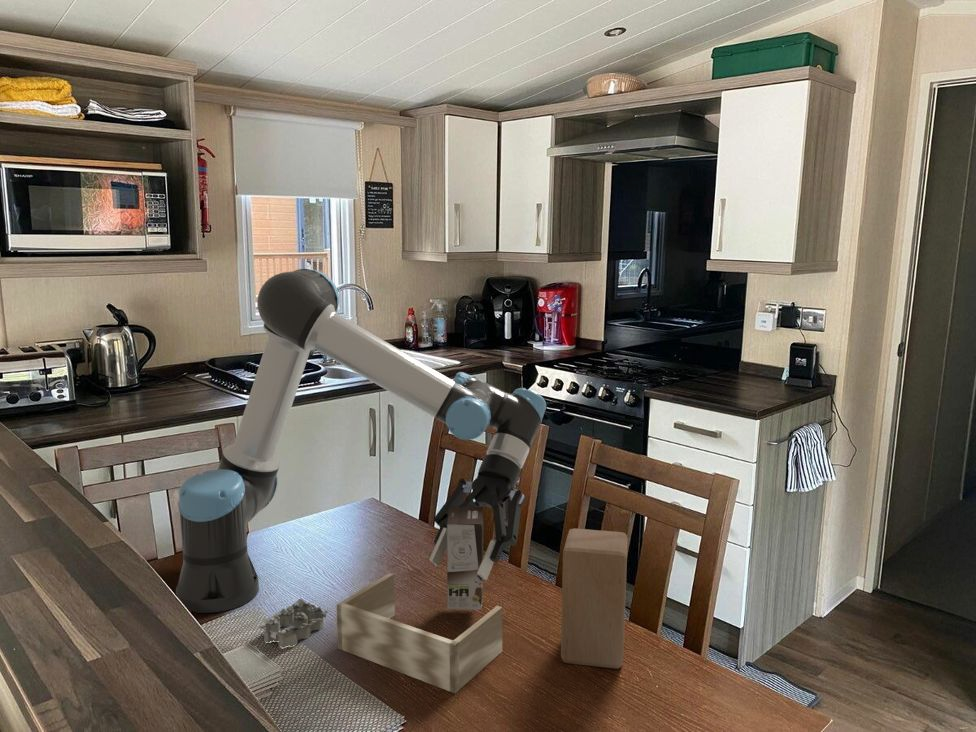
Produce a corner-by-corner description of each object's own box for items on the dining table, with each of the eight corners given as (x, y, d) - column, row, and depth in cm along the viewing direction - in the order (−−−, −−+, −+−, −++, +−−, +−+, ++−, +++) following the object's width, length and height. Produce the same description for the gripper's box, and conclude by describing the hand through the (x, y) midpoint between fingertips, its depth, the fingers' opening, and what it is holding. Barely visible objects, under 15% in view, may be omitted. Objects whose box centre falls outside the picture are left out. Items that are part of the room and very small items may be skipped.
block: (622, 671, 122) (626, 554, 118) (560, 664, 124) (562, 549, 120) (623, 639, 132) (627, 530, 128) (566, 633, 134) (568, 525, 130)
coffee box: (482, 610, 135) (482, 524, 132) (446, 610, 135) (445, 524, 132) (483, 586, 144) (484, 505, 141) (449, 586, 144) (449, 505, 141)
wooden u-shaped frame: (338, 648, 129) (336, 604, 127) (390, 613, 140) (389, 573, 139) (455, 693, 116) (454, 645, 115) (502, 651, 128) (502, 607, 126)
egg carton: (286, 654, 127) (285, 632, 127) (255, 641, 131) (254, 619, 131) (331, 626, 136) (330, 605, 135) (302, 615, 140) (301, 594, 139)
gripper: (561, 482, 143) (518, 593, 133) (463, 462, 155) (417, 563, 144) (548, 462, 138) (503, 576, 127) (447, 443, 149) (398, 547, 139)
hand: (457, 569), depth 136 cm, fingers closed on coffee box, 10 cm apart
